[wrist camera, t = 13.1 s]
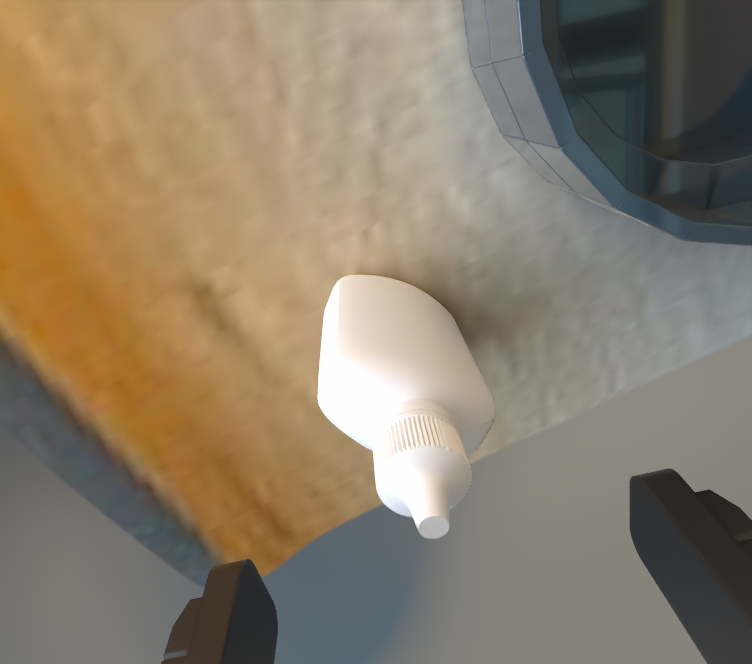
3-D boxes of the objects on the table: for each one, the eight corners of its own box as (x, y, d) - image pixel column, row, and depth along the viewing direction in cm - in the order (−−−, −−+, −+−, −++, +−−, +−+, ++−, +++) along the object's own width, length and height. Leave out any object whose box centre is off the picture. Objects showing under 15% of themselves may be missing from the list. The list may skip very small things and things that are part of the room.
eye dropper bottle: (389, 383, 23) (428, 629, 12) (309, 298, 21) (273, 506, 10) (464, 329, 22) (578, 546, 11) (388, 235, 20) (441, 391, 9)
